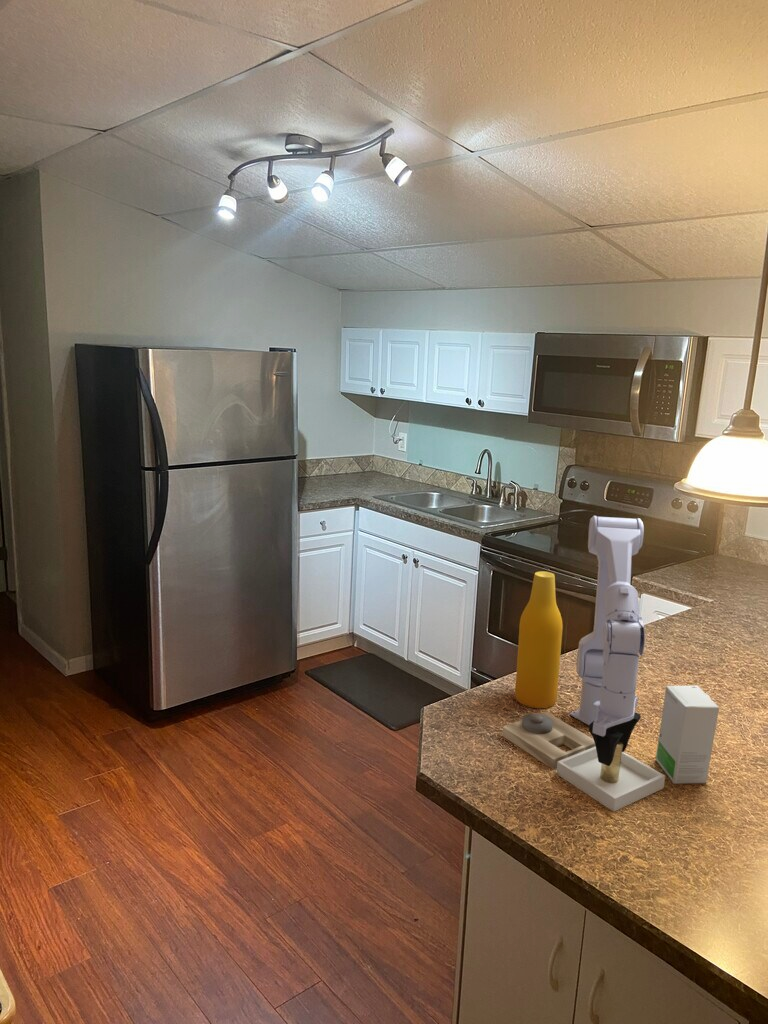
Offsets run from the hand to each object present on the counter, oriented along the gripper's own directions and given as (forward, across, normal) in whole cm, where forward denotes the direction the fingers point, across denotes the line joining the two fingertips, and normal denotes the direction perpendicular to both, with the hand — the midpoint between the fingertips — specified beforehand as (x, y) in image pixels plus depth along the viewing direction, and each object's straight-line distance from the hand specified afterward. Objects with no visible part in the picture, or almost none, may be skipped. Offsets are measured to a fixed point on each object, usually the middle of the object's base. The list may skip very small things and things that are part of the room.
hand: (611, 756), depth 133 cm
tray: (+5, 0, 0) cm, 5 cm away
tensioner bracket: (+5, -4, -14) cm, 16 cm away
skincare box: (+5, -12, +9) cm, 16 cm away
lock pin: (+4, 0, 0) cm, 4 cm away
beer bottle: (+5, -19, -26) cm, 32 cm away
